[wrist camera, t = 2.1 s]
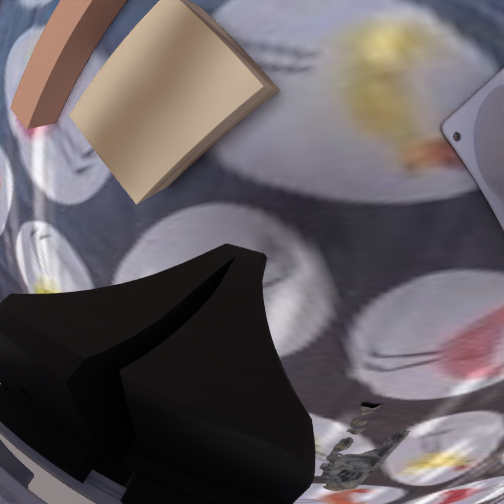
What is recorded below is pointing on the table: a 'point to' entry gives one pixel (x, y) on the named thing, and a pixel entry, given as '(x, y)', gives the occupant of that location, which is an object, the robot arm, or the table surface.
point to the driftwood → (356, 459)
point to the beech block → (168, 96)
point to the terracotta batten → (61, 58)
